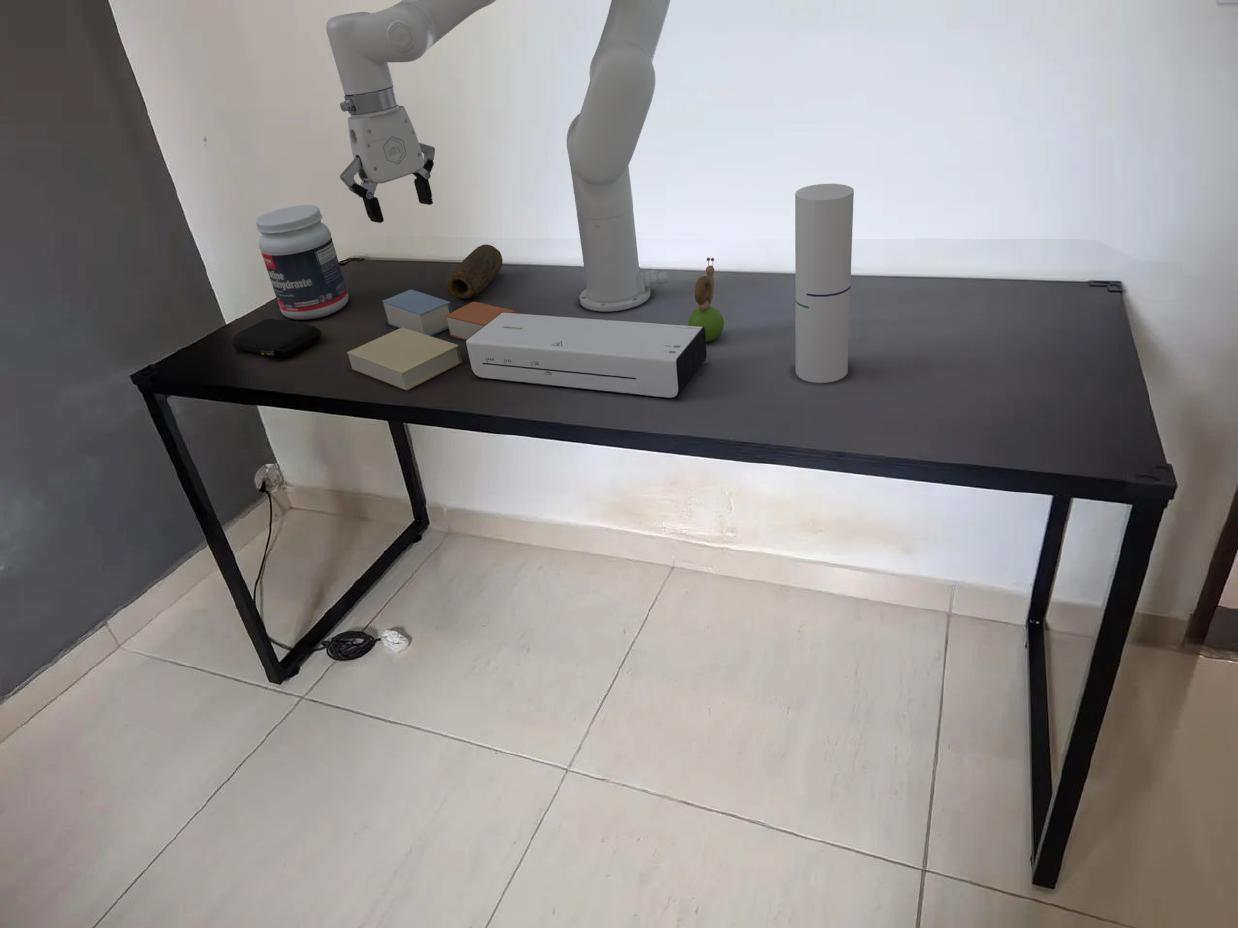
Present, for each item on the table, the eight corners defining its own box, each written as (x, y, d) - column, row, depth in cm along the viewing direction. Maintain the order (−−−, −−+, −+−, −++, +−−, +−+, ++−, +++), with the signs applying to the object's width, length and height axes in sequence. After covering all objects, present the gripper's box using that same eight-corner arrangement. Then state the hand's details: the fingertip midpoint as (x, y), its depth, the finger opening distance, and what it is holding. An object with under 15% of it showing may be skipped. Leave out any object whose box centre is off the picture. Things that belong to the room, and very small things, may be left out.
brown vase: (474, 275, 173) (467, 242, 170) (507, 273, 171) (501, 240, 168) (447, 304, 161) (439, 269, 157) (482, 303, 159) (475, 268, 156)
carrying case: (224, 354, 152) (282, 365, 145) (218, 338, 150) (276, 348, 143) (271, 330, 159) (328, 339, 153) (266, 314, 158) (323, 323, 151)
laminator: (472, 378, 132) (464, 341, 129) (512, 344, 142) (505, 308, 138) (680, 400, 119) (677, 359, 116) (709, 361, 128) (707, 322, 125)
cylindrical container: (837, 386, 118) (842, 201, 104) (787, 378, 121) (786, 198, 108) (854, 364, 122) (861, 185, 109) (806, 356, 126) (807, 182, 113)
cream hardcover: (462, 362, 138) (458, 345, 136) (406, 390, 131) (402, 372, 130) (406, 343, 147) (402, 327, 145) (351, 369, 140) (346, 352, 139)
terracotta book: (518, 331, 146) (514, 310, 144) (490, 346, 142) (486, 325, 140) (478, 321, 152) (473, 301, 150) (450, 336, 148) (445, 315, 146)
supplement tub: (270, 324, 162) (236, 227, 152) (302, 298, 173) (273, 206, 163) (332, 322, 160) (302, 223, 150) (362, 295, 170) (335, 201, 160)
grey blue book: (455, 325, 151) (449, 301, 149) (426, 338, 148) (420, 314, 146) (416, 312, 159) (411, 289, 157) (388, 324, 156) (381, 301, 153)
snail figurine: (731, 331, 136) (728, 257, 130) (717, 348, 132) (713, 273, 125) (698, 329, 139) (694, 256, 132) (684, 345, 134) (678, 271, 128)
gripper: (335, 117, 127) (369, 231, 136) (432, 90, 136) (457, 199, 145) (311, 115, 132) (345, 226, 141) (405, 90, 141) (432, 195, 150)
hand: (402, 212), depth 143 cm, fingers open, 9 cm apart
